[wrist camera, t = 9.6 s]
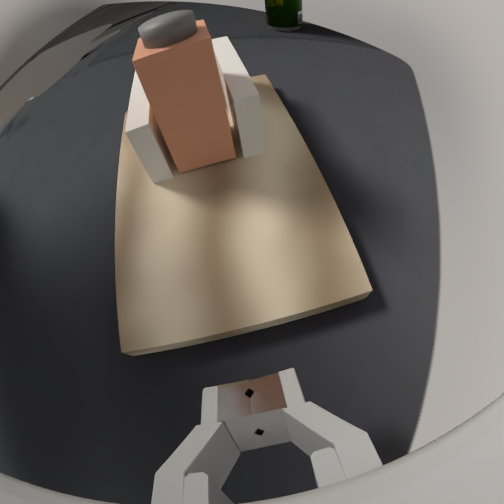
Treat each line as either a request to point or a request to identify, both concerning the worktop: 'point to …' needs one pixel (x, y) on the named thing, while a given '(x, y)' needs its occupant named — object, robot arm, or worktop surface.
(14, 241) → the worktop surface
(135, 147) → the socket
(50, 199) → the worktop surface
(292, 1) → the beer can
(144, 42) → the plug
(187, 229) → the base board
